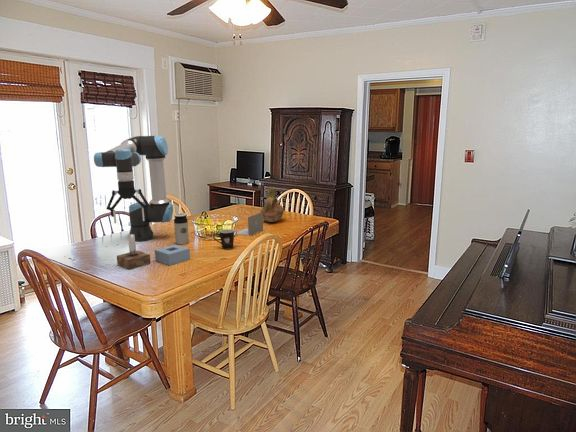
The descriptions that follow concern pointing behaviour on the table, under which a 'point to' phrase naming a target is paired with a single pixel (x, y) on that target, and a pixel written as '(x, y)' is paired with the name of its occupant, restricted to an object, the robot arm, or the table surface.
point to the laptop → (253, 225)
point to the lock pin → (132, 245)
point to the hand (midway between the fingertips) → (129, 221)
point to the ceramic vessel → (272, 207)
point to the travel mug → (181, 229)
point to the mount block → (133, 260)
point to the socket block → (172, 254)
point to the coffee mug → (226, 238)
